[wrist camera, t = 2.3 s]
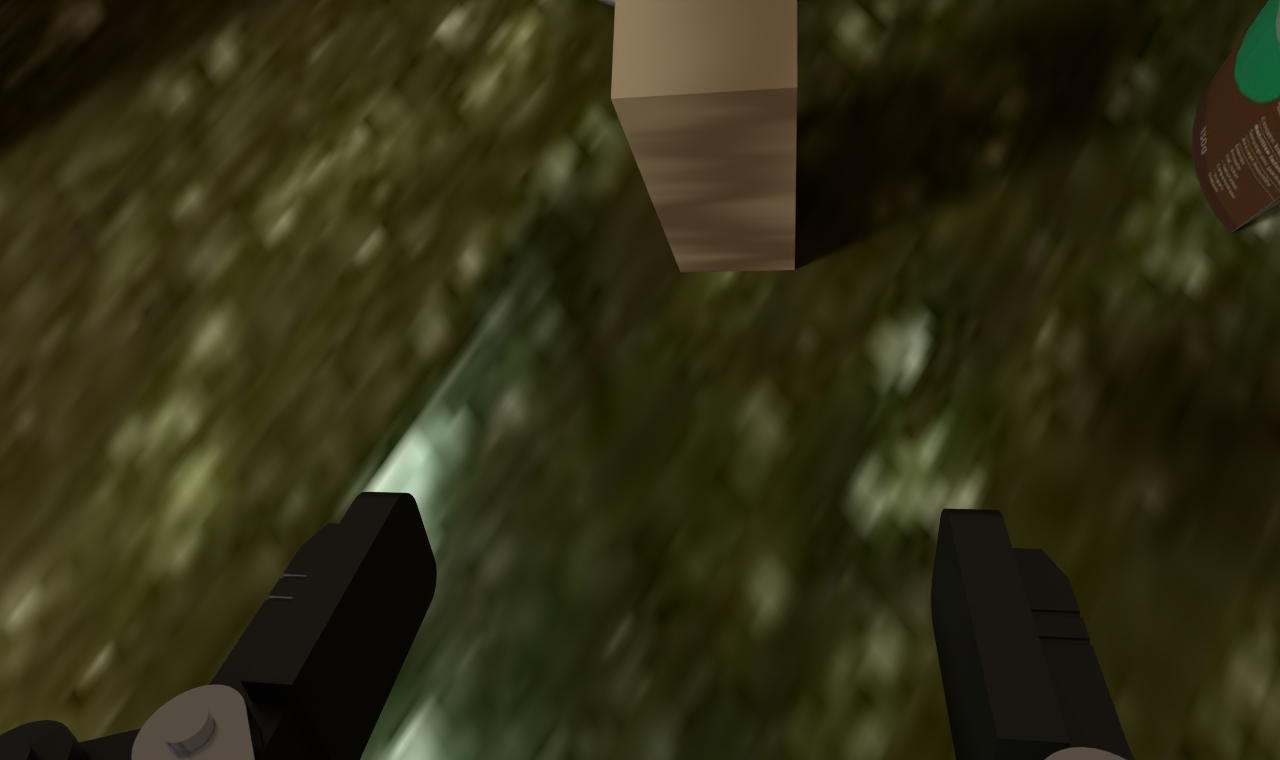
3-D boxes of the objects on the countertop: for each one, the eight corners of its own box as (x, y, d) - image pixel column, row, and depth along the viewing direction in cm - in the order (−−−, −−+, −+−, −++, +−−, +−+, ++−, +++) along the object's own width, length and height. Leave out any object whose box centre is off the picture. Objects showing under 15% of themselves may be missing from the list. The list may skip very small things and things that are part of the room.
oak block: (680, 272, 30) (611, 98, 18) (683, 167, 31) (618, -63, 19) (794, 270, 29) (797, 87, 18) (794, 162, 30) (796, -79, 18)
